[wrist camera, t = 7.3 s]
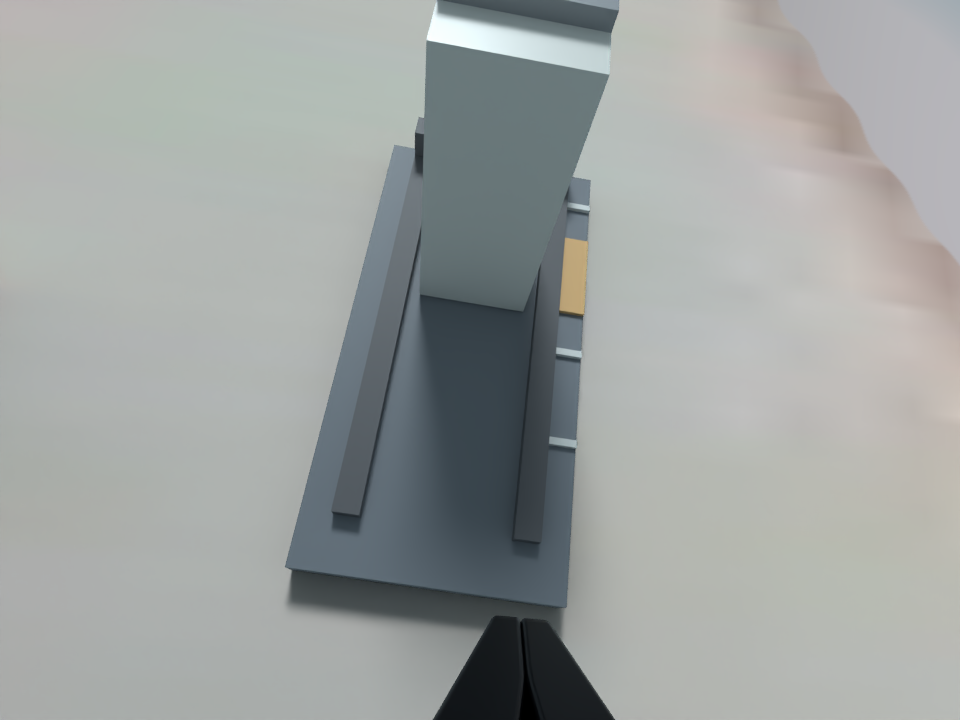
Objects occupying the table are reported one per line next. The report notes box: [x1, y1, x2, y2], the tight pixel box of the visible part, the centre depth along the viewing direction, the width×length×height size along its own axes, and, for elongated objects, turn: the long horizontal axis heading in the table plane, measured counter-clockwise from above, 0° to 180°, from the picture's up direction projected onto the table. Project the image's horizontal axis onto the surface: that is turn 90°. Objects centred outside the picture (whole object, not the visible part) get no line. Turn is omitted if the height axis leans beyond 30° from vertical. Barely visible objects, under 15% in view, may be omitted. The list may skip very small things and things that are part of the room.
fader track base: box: [285, 117, 591, 608], centre depth 24 cm, size 20×10×3 cm, turn 173°
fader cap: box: [420, 0, 619, 312], centre depth 20 cm, size 4×5×13 cm
